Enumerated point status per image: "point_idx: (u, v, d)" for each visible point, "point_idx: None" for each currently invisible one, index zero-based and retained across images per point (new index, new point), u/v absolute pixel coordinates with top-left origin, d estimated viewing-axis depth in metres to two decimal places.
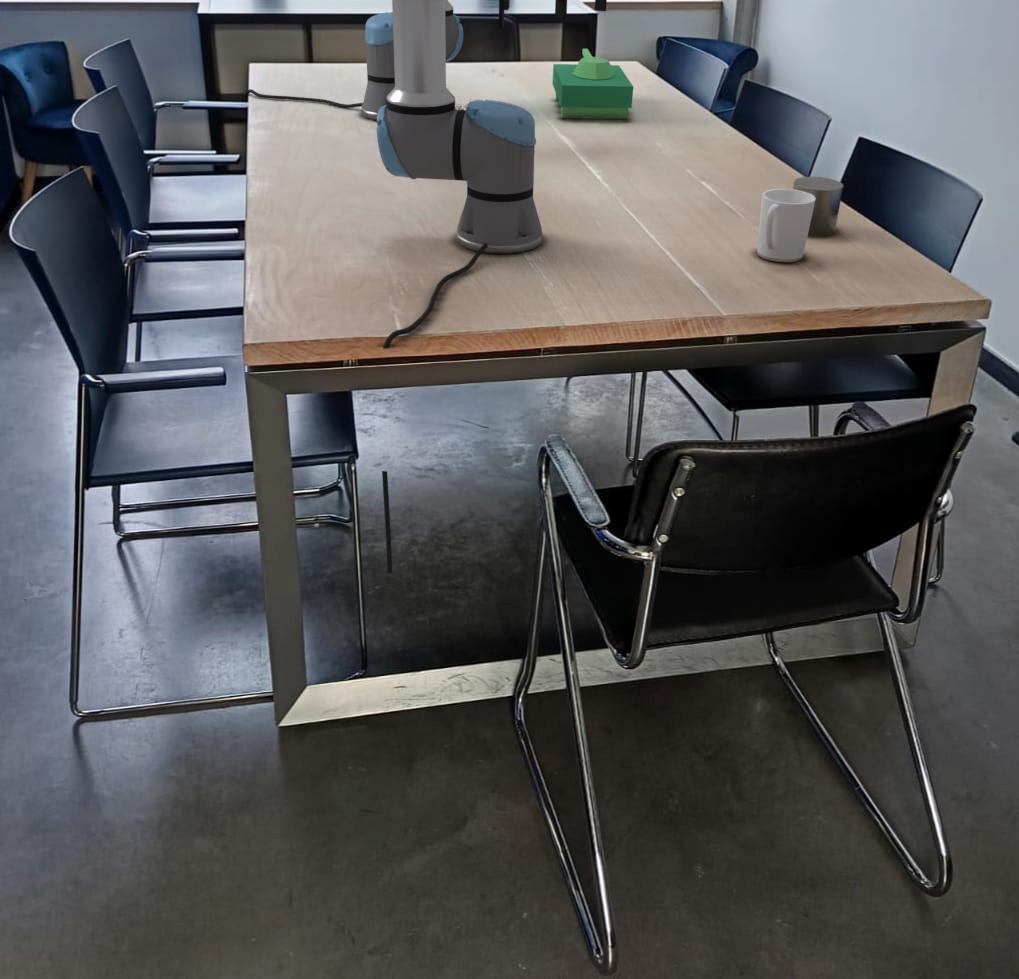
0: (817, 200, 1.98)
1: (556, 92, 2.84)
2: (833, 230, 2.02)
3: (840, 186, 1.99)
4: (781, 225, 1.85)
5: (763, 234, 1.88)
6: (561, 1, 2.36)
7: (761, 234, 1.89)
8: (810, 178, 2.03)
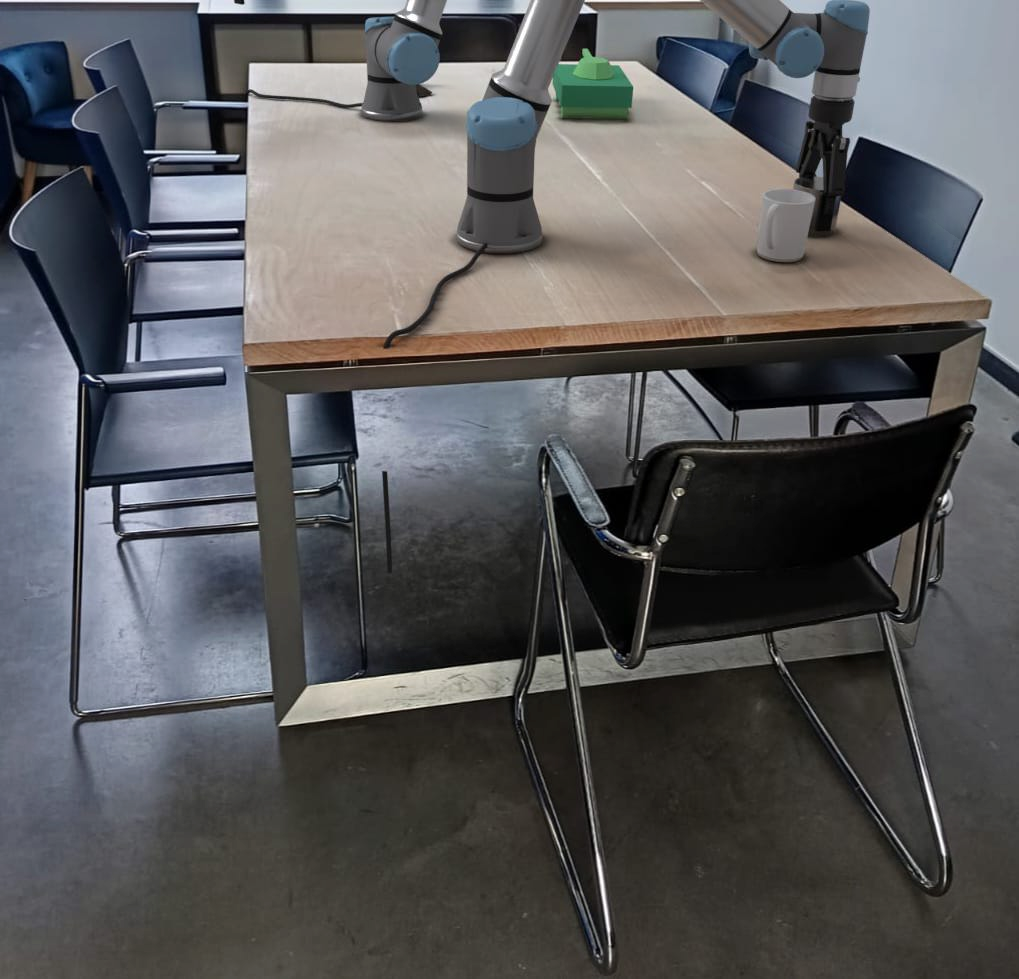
0: (817, 200, 1.98)
1: (556, 92, 2.84)
2: (833, 230, 2.02)
3: None
4: (781, 225, 1.85)
5: (763, 234, 1.88)
6: None
7: (761, 234, 1.89)
8: (810, 178, 2.03)
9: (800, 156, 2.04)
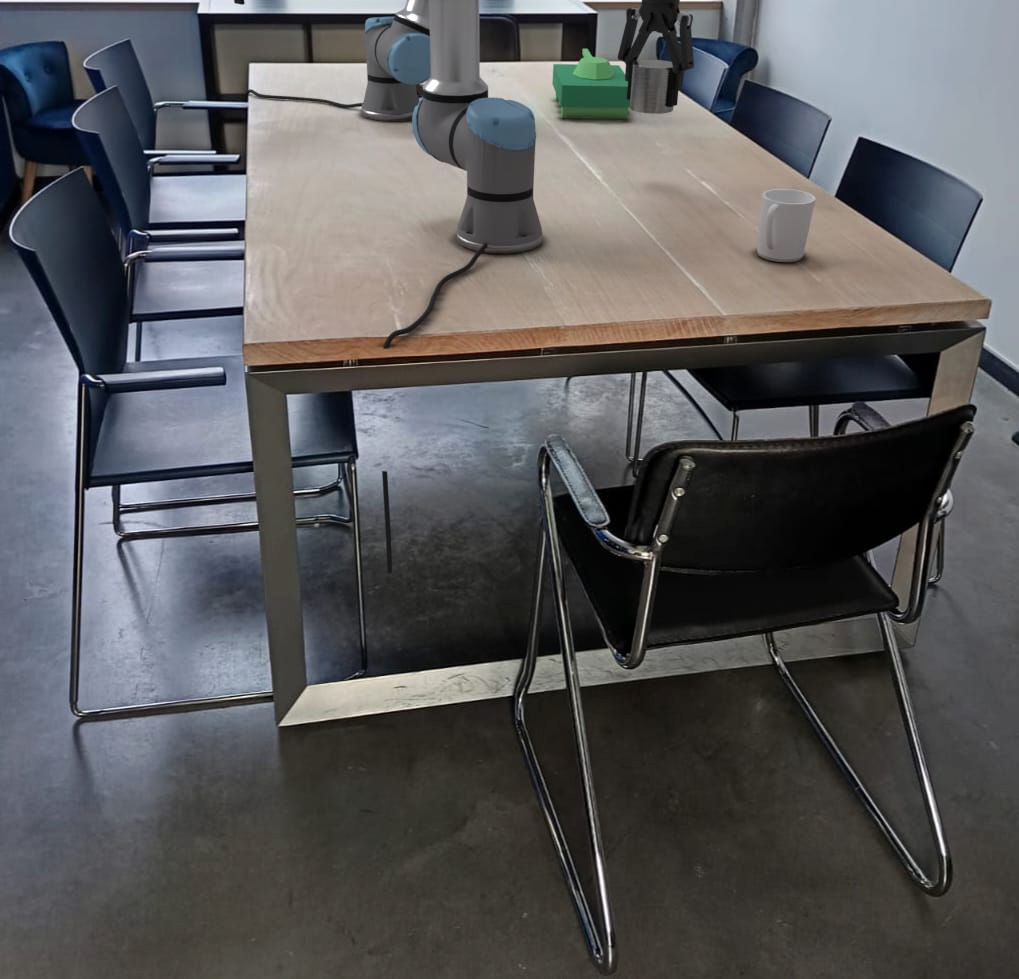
0: (667, 77, 2.15)
1: (556, 92, 2.84)
2: None
3: None
4: (781, 225, 1.85)
5: (763, 234, 1.88)
6: None
7: (761, 234, 1.89)
8: (640, 61, 2.18)
9: (623, 43, 2.18)
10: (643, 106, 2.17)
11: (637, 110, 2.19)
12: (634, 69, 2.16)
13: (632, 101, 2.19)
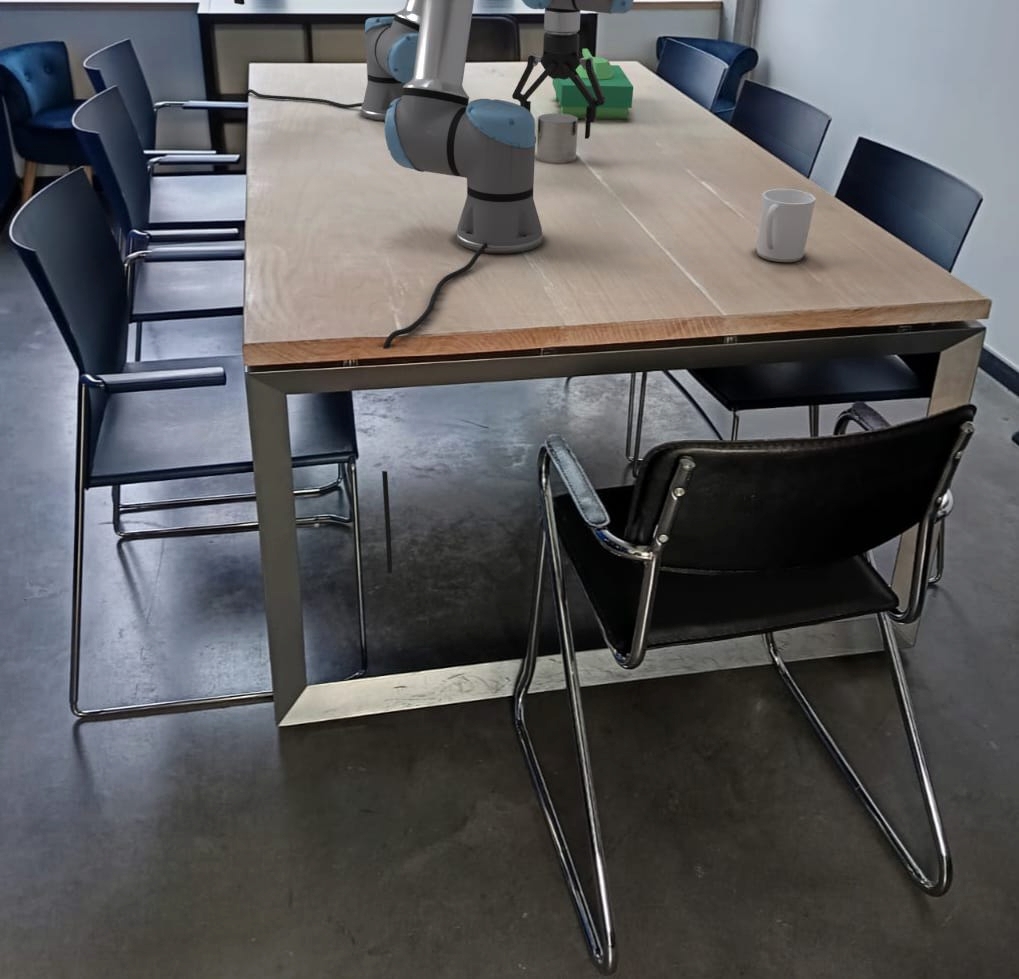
0: (574, 129, 2.39)
1: (556, 92, 2.84)
2: None
3: (570, 115, 2.42)
4: (781, 225, 1.85)
5: (763, 234, 1.88)
6: None
7: (761, 234, 1.89)
8: (543, 117, 2.40)
9: (519, 85, 2.37)
10: (556, 157, 2.40)
11: (550, 161, 2.41)
12: (543, 125, 2.38)
13: (543, 153, 2.41)
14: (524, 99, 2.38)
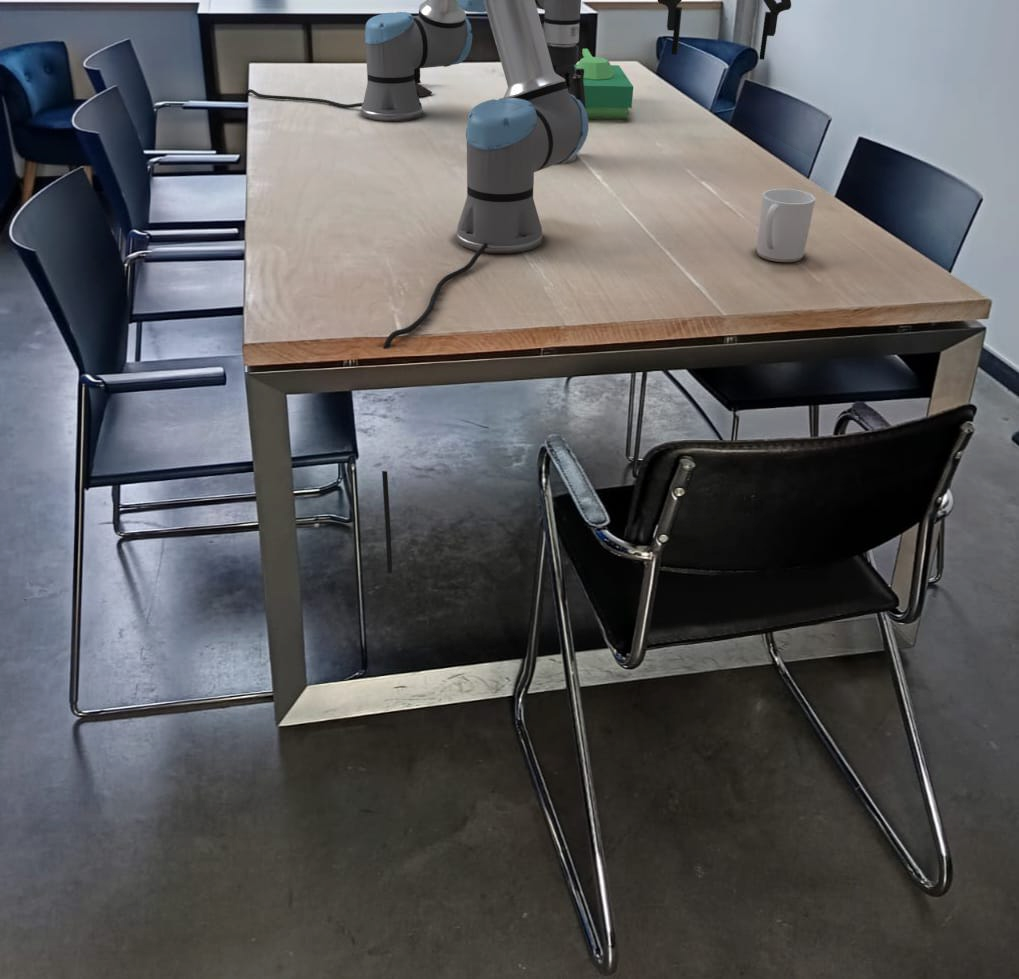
0: None
1: None
2: None
3: None
4: (781, 225, 1.85)
5: (763, 234, 1.88)
6: None
7: (761, 234, 1.89)
8: None
9: None
10: None
11: None
12: None
13: None
14: (675, 3, 1.69)
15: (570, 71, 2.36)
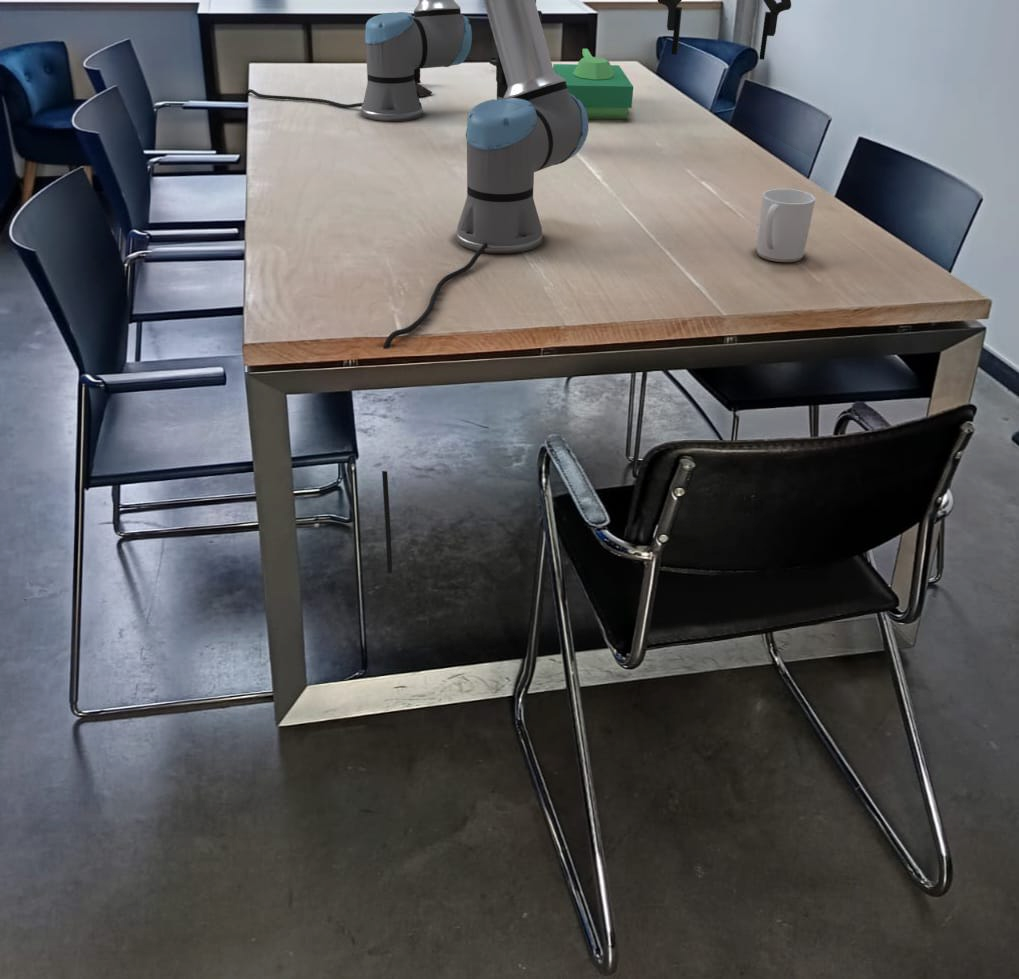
0: None
1: None
2: None
3: None
4: (781, 225, 1.85)
5: (763, 234, 1.88)
6: (502, 82, 2.43)
7: (761, 234, 1.89)
8: None
9: None
10: None
11: None
12: None
13: None
14: (675, 3, 1.69)
15: None
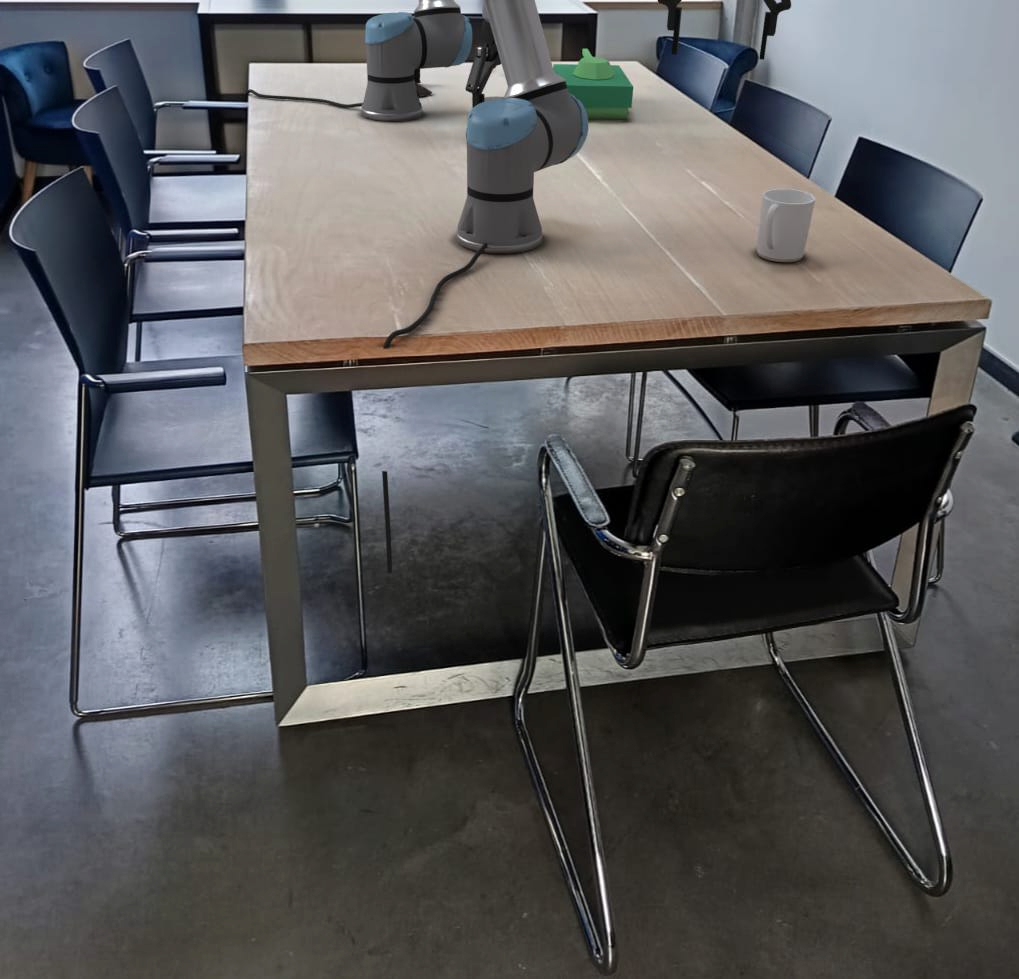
0: None
1: None
2: None
3: None
4: (781, 225, 1.85)
5: (763, 234, 1.88)
6: None
7: (761, 234, 1.89)
8: None
9: None
10: None
11: None
12: None
13: None
14: (675, 3, 1.69)
15: None
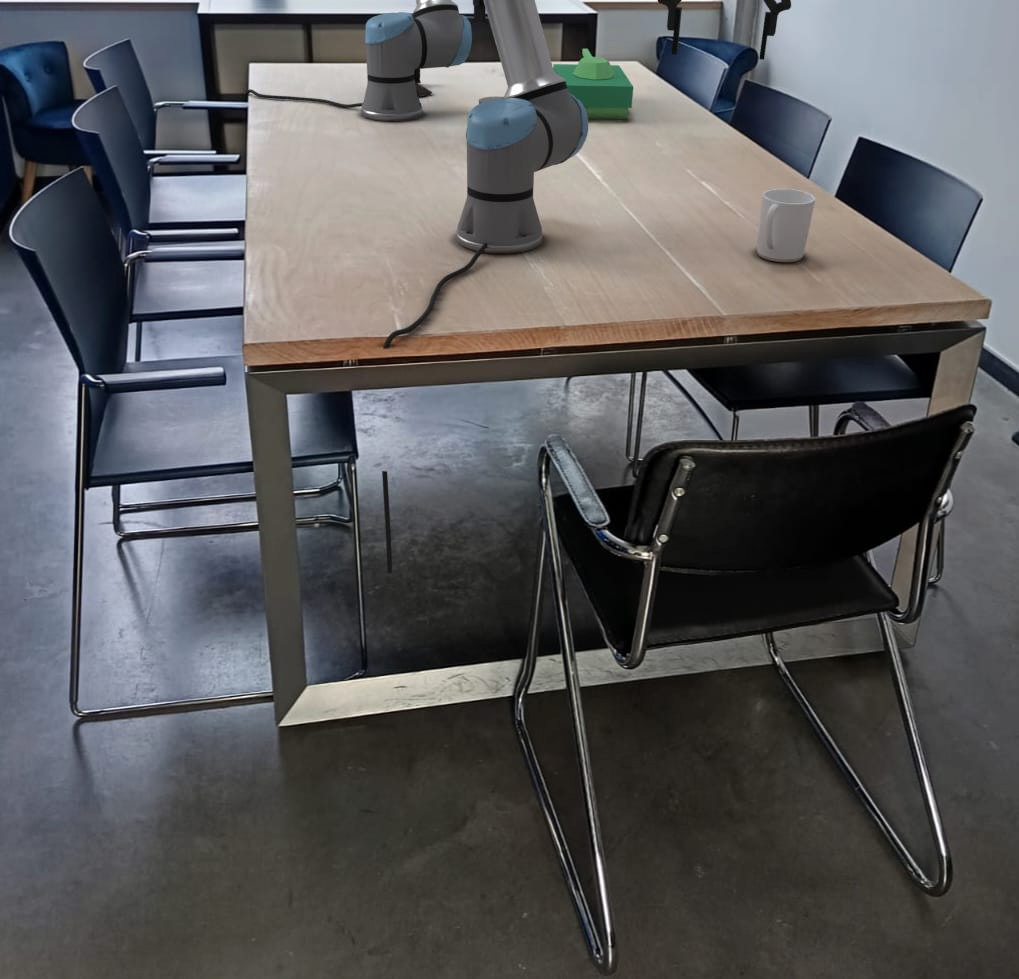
0: None
1: None
2: None
3: None
4: (781, 225, 1.85)
5: (763, 234, 1.88)
6: (479, 6, 2.38)
7: (761, 234, 1.89)
8: (484, 100, 2.54)
9: None
10: None
11: None
12: None
13: None
14: (675, 3, 1.69)
15: None
